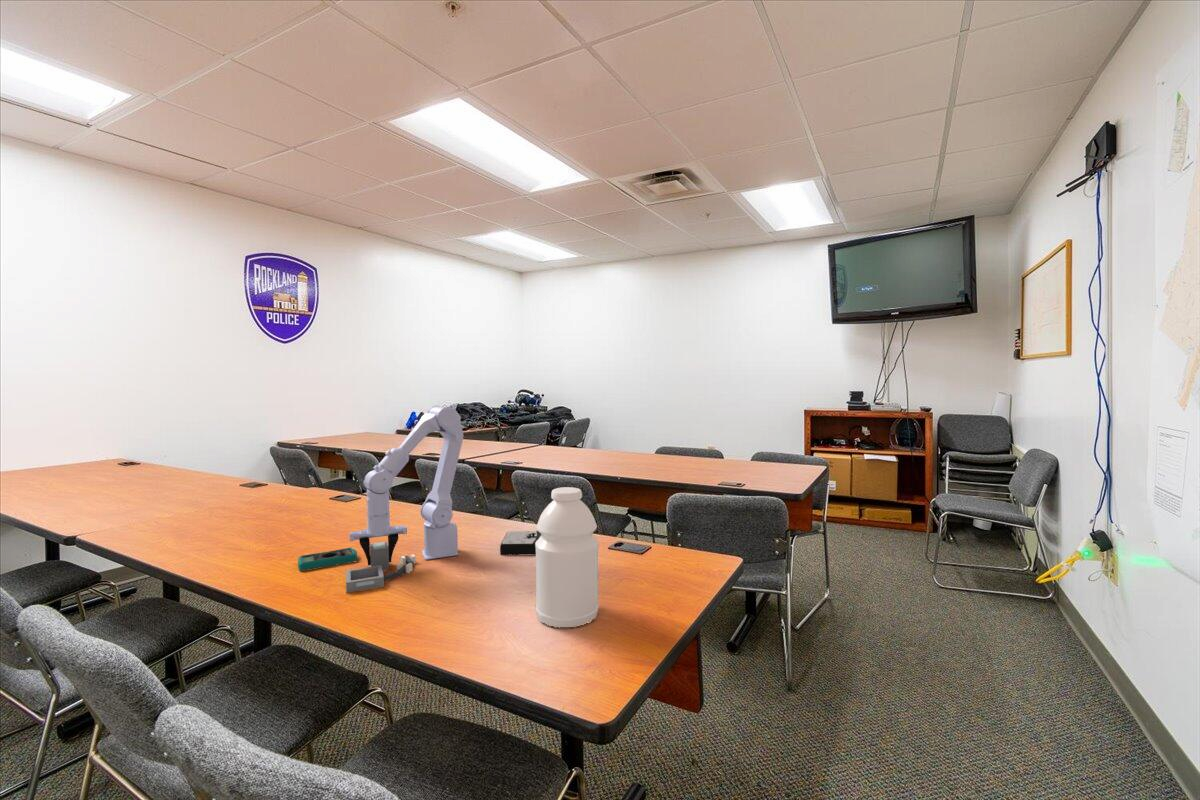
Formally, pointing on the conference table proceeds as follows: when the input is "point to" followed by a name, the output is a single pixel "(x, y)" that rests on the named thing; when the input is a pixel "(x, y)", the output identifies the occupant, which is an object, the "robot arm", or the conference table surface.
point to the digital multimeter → (327, 558)
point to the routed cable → (402, 567)
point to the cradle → (366, 582)
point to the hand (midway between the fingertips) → (379, 562)
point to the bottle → (566, 561)
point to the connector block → (379, 555)
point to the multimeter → (519, 542)
